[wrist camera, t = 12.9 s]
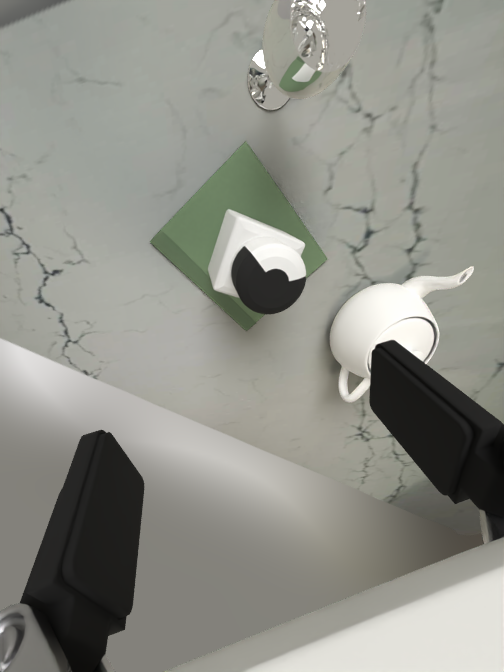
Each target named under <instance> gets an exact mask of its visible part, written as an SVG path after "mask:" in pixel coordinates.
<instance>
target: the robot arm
mask: <svg viewBox="0 0 504 672" xmlns="http://www.w3.org/2000/svg"><path fill="white" fill-rule="evenodd" d="M370 406H371V409H372V410H373V412H374V413H375V414H376V415H377V417H378V418H379V419H380V420H381V422H382V423H383V424H384V425H385V426H386V428H387V429H388V430H389V431H390V432H391V434H392V435H393V436H394V437H395V439H396V440H397V441H398V442H399V443H400V445H401V446H402V447H403V448H404V449H405V451H406V452H407V453H408V454H409V456H410V457H411V458H412V459H413V460H414V462H415V463H416V464H417V465H418V466H419V468H420V469H421V470H422V471H423V472H424V474H425V475H426V476H427V477H428V479H429V480H430V481H431V482H432V483H433V485H434V486H435V487H436V488H437V489H438V491H439V492H440V493H442V494H443V495H448V496H449V497H450V499H451V500H452V501H453V502H454V503H455V504H457V503H459V502H462V501H465V500H467V499H471V500H472V502H473V503H474V504H475V505H476V506H477V507H478V508H479V514H480V522H481V530H482V538H483V545H481V546H478V547H476V548H473V549H470V550H468V551H465V552H462V553H459V554H457V555H454V556H452V557H449V558H447V559H444V560H442V561H439V562H437V563H434V564H432V565H429V566H427V567H424V568H421V569H419V570H417V571H414V572H411V573H409V574H406V575H404V576H401V577H398V578H396V579H393V580H391V581H388V582H386V583H383V584H381V585H378V586H376V587H373V588H371V589H368V590H366V591H363V592H361V593H358V594H356V595H353V596H350V597H348V598H345V599H343V600H340V601H338V602H335V603H333V604H330V605H328V606H326V607H323V608H320V609H318V610H315V611H313V612H310V613H308V614H306V615H303V616H300V617H298V618H296V619H293V620H290V621H288V622H285V623H283V624H280V625H278V626H276V627H273V628H270V629H268V630H266V631H263V632H261V633H258V634H255V635H253V636H251V637H248V638H246V639H243V640H241V641H238V642H236V643H233V644H231V645H228V646H226V647H224V648H221V649H218V650H216V651H213V652H211V653H209V654H206V655H204V656H201V657H199V658H196V659H194V660H191V661H189V662H186V663H184V664H181V665H179V666H176V667H174V668H171V669H169V670H167V671H164V672H504V424H502V422H501V421H499V420H498V419H497V418H495V417H494V416H493V415H492V414H490V413H489V412H488V411H486V410H485V409H484V408H482V407H481V406H480V405H478V404H477V403H476V402H475V401H473V400H472V399H471V398H469V397H468V396H467V395H465V394H464V393H463V392H462V391H460V390H459V389H458V388H456V387H455V386H454V385H452V384H451V383H450V382H449V381H447V380H446V379H445V378H443V377H442V376H441V375H439V374H438V373H437V372H436V371H434V370H433V369H432V368H430V367H429V366H428V365H426V364H425V363H424V362H423V361H421V360H420V359H419V358H417V357H416V356H415V355H413V354H412V353H411V352H410V351H408V350H407V349H406V348H404V347H403V346H402V345H400V344H399V343H398V342H396V341H395V340H389V341H386V342H382V343H379V344H377V345H376V346H375V349H374V350H372V353H371V377H370ZM143 496H144V481H143V478H142V476H141V475H140V474H139V472H138V471H137V469H136V468H135V467H134V465H133V464H132V462H131V461H130V459H129V458H128V457H127V455H126V454H125V452H124V451H123V450H122V448H121V447H120V445H119V444H118V442H117V441H116V439H115V438H114V437H113V435H112V434H111V433H110V432H108V433H106V432H105V431H103V430H99V431H96V432H93V433H89V434H86V435H83V436H82V437H81V439H80V441H79V444H78V447H77V450H76V452H75V455H74V458H73V461H72V464H71V467H70V469H69V472H68V475H67V478H66V481H65V483H64V486H63V488H62V490H61V492H60V494H59V496H58V499H57V502H56V504H55V507H54V510H53V513H52V515H51V518H50V521H49V524H48V526H47V529H46V532H45V535H44V538H43V540H42V544H41V546H40V549H39V551H38V554H37V557H36V560H35V563H34V565H33V568H32V571H31V574H30V577H29V579H28V582H27V585H26V587H25V590H24V593H23V596H22V599H21V601H20V603H18V604H14V605H10V606H8V607H6V608H5V609H3V610H1V611H0V672H115V671H114V669H113V667H112V665H111V663H110V662H109V660H108V658H107V657H106V655H105V652H106V646H107V639H108V636H109V635H112V634H115V633H117V632H120V631H122V630H125V624H126V616H127V615H129V614H130V612H131V610H132V606H133V598H134V587H135V577H136V567H137V557H138V547H139V536H140V526H141V517H142V506H143Z"/></svg>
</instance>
